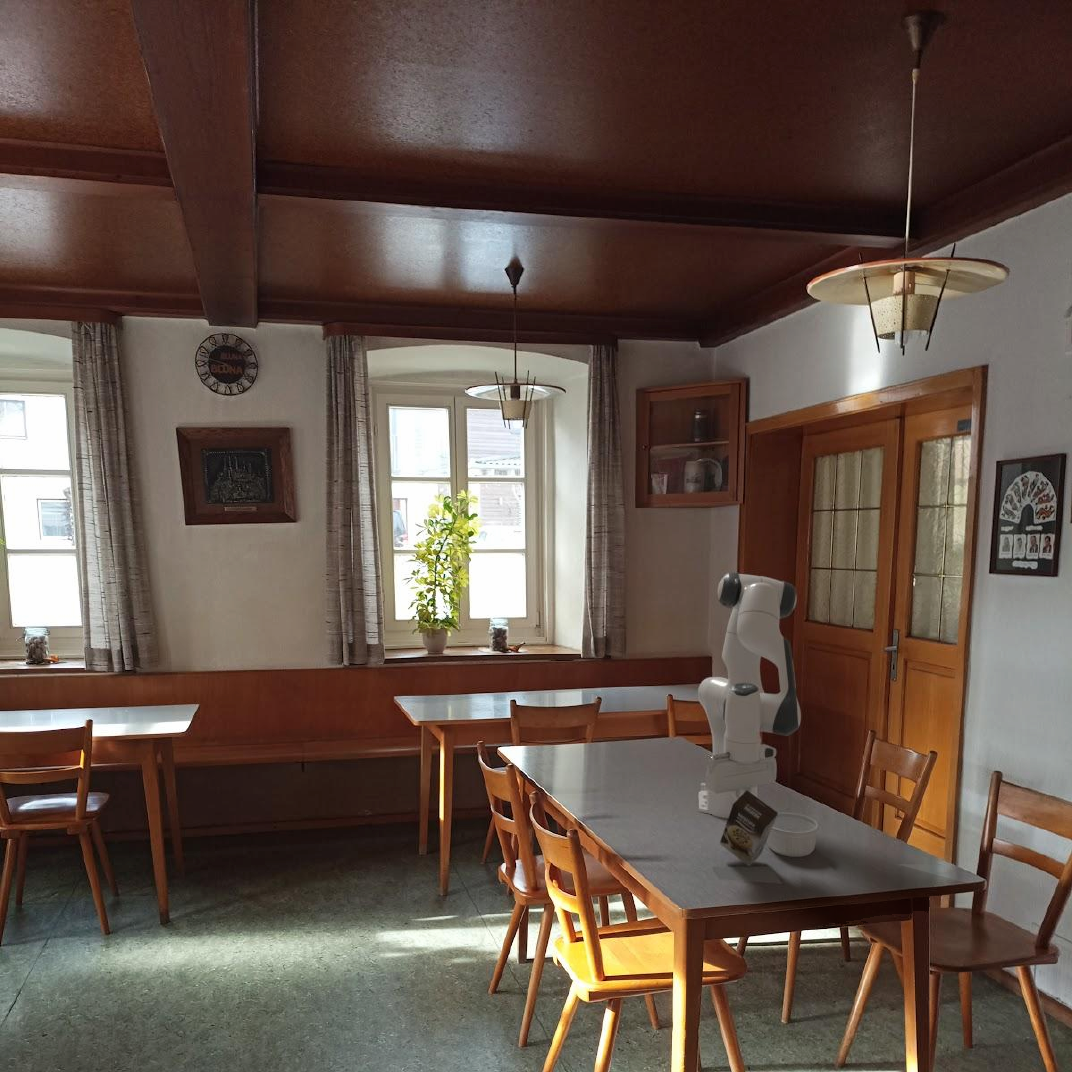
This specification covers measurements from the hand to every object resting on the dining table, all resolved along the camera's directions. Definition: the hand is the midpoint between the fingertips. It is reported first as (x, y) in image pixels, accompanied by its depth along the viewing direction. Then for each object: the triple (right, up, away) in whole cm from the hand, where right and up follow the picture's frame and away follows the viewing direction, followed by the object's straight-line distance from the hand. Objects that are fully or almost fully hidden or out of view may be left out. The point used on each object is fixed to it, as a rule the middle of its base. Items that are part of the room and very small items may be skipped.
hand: (740, 805), depth 212 cm
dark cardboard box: (0, -11, +1) cm, 11 cm away
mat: (-1, -14, -10) cm, 17 cm away
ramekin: (+15, -13, +7) cm, 21 cm away
